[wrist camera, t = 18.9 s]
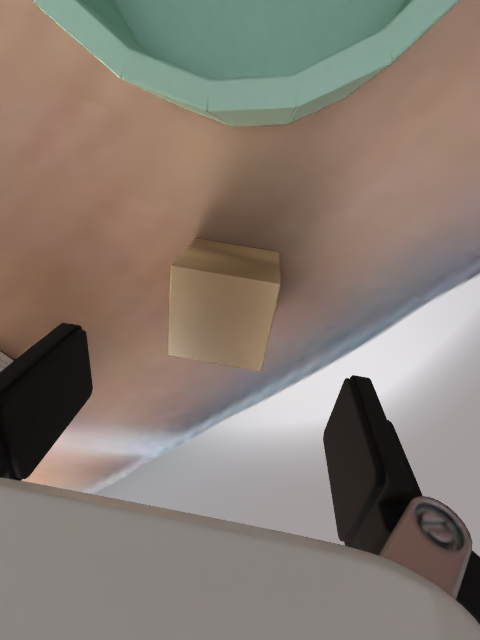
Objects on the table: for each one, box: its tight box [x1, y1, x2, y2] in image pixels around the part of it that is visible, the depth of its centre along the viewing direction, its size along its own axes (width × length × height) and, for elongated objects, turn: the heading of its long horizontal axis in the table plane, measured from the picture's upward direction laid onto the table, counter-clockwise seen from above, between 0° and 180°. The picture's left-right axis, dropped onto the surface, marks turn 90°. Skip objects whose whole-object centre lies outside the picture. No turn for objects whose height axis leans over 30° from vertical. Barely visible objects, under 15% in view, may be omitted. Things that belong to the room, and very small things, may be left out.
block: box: [168, 238, 281, 371], centre depth 17 cm, size 5×5×5 cm
